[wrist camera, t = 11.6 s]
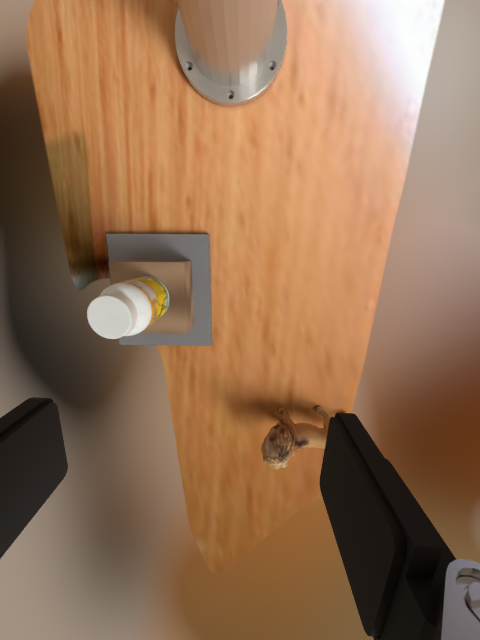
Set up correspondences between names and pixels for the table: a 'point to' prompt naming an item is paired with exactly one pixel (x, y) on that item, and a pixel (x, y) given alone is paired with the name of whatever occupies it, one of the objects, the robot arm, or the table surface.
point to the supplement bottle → (128, 307)
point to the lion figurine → (292, 438)
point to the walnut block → (177, 284)
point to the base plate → (172, 250)
